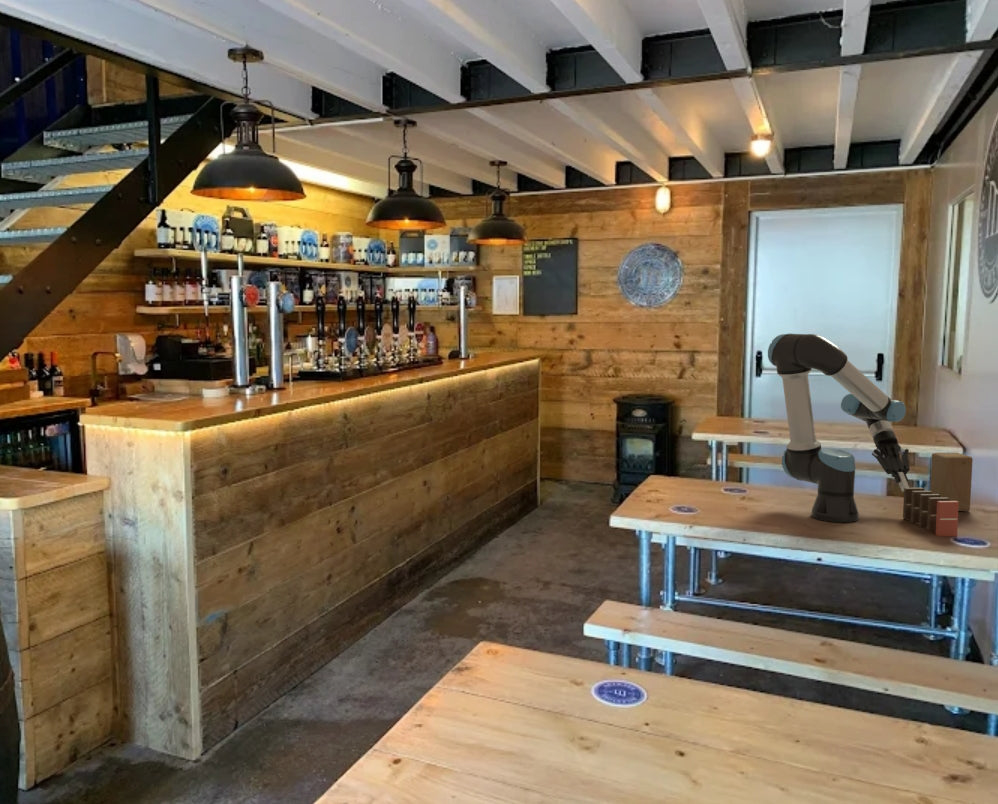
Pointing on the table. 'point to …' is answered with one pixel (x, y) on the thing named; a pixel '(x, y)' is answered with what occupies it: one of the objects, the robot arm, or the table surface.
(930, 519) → the tile
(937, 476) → the wooden block
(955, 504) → the end tile
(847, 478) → the robot arm
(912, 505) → the tile
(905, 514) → the tile
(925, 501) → the tile
